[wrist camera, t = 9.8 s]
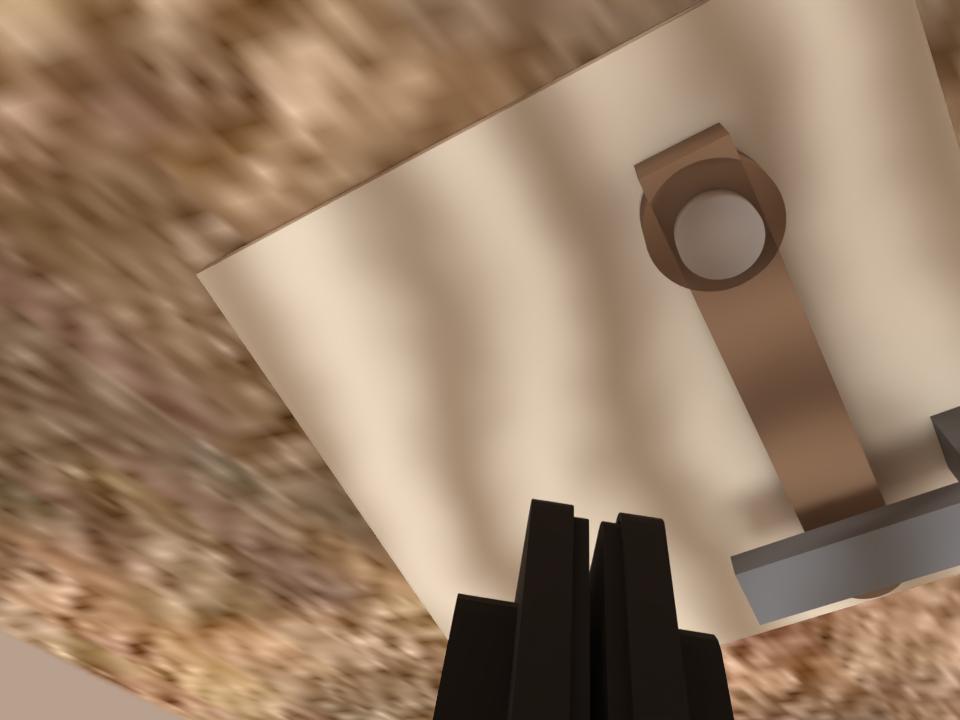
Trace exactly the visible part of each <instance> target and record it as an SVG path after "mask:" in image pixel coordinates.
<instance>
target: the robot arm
mask: <svg viewBox="0 0 960 720" xmlns="http://www.w3.org/2000/svg"><path fill="white" fill-rule="evenodd" d="M433 720H734V717H733V711H732V706H731V700H730V695H729V690H728V684H727V679H726V674H725V668H724V663H723V657H722V652H721V648H720V645H719V641H718V639H717V638H716V636H715V635H714V634H708V633H702V632H696V631H689V630H683V629H678V621H677V614H676V606H675V598H674V591H673V583H672V575H671V568H670V560H669V552H668V545H667V537H666V529H665V524H664V520H663V519H661V518H655V517H648V516H642V515H635V514H629V513H622V512H620V513H619V514H618V516H617V519H616V523H612V522H605V521H602V522H601V523H600V527H599V531H598V535H597V540H596V544H595V549H594V554H593V558H592V563H591V567H590V572H589V519H586V518H580V517H574V506H573V505H570V504H564V503H557V502H551V501H544V500H538V499H532V500H531V504H530V510H529V516H528V522H527V528H526V534H525V540H524V546H523V553H522V559H521V565H520V571H519V577H518V583H517V589H516V595H515V601H514V602H509V601H503V600H497V599H491V598H485V597H478V596H472V595H466V594H460V593H458V595H457V599H456V604H455V609H454V614H453V619H452V624H451V629H450V634H449V640H448V645H447V650H446V655H445V660H444V665H443V670H442V675H441V681H440V686H439V691H438V696H437V701H436V706H435V711H434V716H433Z"/></svg>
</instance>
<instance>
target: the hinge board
mask: <svg viewBox="0 0 960 720" xmlns="http://www.w3.org/2000/svg"><path fill="white" fill-rule="evenodd" d="M717 123H720V124H721V125H722V126H723V127H724V128H725V129H726V130H727V131H728V132H729V134H730V136H731V138H732V140H733V143H734V145H735V147H736V149H737V150H739V151H741V152H743V153H745V154H747V155H748V156H749V157H751V158H752V159H753V160H754V161H755V162H756V163H757V164H758V165H759V166H760V167H761V168H762V169H763V170H764V171H765V172H766V173H767V175H768V176H769V177H770V178H771V179H772V180H773V181H774V183H775V184H776V186H777V187H778V189H779V191H780V193H781V195H782V197H783V200H784V204H785V209H786V228H785V233H784V237H783V240H782V243H781V245H780V248H779V252H780V254H781V257H782V259H783V261H784V264H785V266H786V268H787V271H788V273H789V276H790V278H791V280H792V283H793V285H794V287H795V290H796V292H797V295H798V297H799V299H800V302H801V304H802V306H803V309H804V311H805V314H806V316H807V318H808V321H809V323H810V325H811V328H812V330H813V333H814V335H815V337H816V340H817V342H818V344H819V347H820V349H821V352H822V354H823V356H824V359H825V361H826V363H827V366H828V368H829V371H830V373H831V375H832V378H833V380H834V382H835V385H836V387H837V389H838V392H839V394H840V397H841V399H842V401H843V404H844V406H845V408H846V411H847V413H848V416H849V418H850V420H851V423H852V425H853V427H854V430H855V432H856V435H857V437H858V439H859V442H860V444H861V446H862V449H863V451H864V454H865V456H866V458H867V461H868V463H869V465H870V468H871V470H872V473H873V475H874V477H875V480H876V482H877V484H878V487H879V489H880V492H881V494H882V496H883V499H884V501H885V503H886V506H883V507H880V508H877V509H874V510H871V511H868V512H865V513H862V514H859V515H856V516H853V517H850V518H847V519H844V520H840V521H837V522H834V523H831V524H828V525H825V526H822V527H819V528H816V529H813V530H810V531H807V532H804V530H803V527H802V525H801V523H800V521H799V519H798V517H797V515H796V513H795V511H794V508H793V506H792V504H791V502H790V500H789V498H788V496H787V494H786V492H785V489H784V487H783V485H782V483H781V481H780V479H779V477H778V475H777V472H776V470H775V468H774V466H773V464H772V462H771V460H770V458H769V456H768V453H767V451H766V449H765V447H764V445H763V443H762V441H761V439H760V437H759V434H758V432H757V430H756V428H755V426H754V424H753V422H752V420H751V417H750V415H749V413H748V411H747V409H746V407H745V405H744V403H743V401H742V398H741V396H740V394H739V392H738V390H737V388H736V386H735V384H734V382H733V379H732V377H731V375H730V373H729V371H728V369H727V367H726V365H725V362H724V360H723V358H722V356H721V354H720V352H719V350H718V348H717V346H716V343H715V341H714V339H713V337H712V335H711V333H710V331H709V329H708V327H707V324H706V322H705V320H704V318H703V316H702V314H701V312H700V310H699V307H698V305H697V303H696V301H695V299H694V297H693V295H692V293H691V291H690V289H687V288H685V287H682V286H679V285H678V284H676V283H674V282H672V281H671V280H669V279H668V278H667V277H665V276H664V275H663V274H662V273H661V272H660V271H659V270H658V268H657V267H656V266H655V265H654V263H653V261H652V259H651V258H650V256H649V253H648V251H647V247H646V243H645V240H644V236H643V232H642V228H641V223H640V204H641V199H642V196H643V192H644V191H643V189H642V187H641V185H640V183H639V181H638V178H637V174H636V171H635V168H634V165H636V164H638V163H640V162H642V161H644V160H645V159H647V158H649V157H651V156H653V155H655V154H657V153H659V152H661V151H663V150H665V149H667V148H669V147H671V146H673V145H675V144H677V143H679V142H681V141H683V140H685V139H687V138H689V137H691V136H693V135H695V134H697V133H699V132H701V131H703V130H705V129H707V128H709V127H711V126H713V125H715V124H717ZM674 240H675V244H676V246H677V249H678V252H679V255H680V257H681V259H682V261H683V263H684V264H685V265H686V267H687V268H688V269H689V270H691V271H692V272H693V273H695V274H697V275H698V276H701V277H703V278H707V279H714V280H721V279H727V278H731V277H734V276H737V275H739V274H741V273H742V272H744V271H746V270H747V269H748V268H749V267H751V266H752V265H753V263H754V262H755V261H756V260H757V258H758V257H759V255H760V253H761V251H762V249H763V246H764V242H765V228H764V224H763V221H762V219H761V217H760V215H759V213H758V212H757V211H756V209H755V208H754V207H753V205H752V204H751V203H750V202H749V200H748V199H746V198H745V197H744V196H743V195H741V194H739V193H737V192H735V191H731V190H727V189H713V190H708V191H705V192H702V193H700V194H698V195H696V196H695V197H693V198H692V199H690V200H689V201H688V202H687V203H686V204H685V205H684V206H683V207H682V209H681V210H680V212H679V214H678V216H677V218H676V221H675V225H674ZM196 275H197V276H198V278H199V279H200V281H201V282H202V284H203V285H204V287H205V288H206V289H207V291H208V292H209V294H210V295H211V297H212V298H213V300H214V301H215V303H216V304H217V305H218V307H219V308H220V310H221V311H222V313H223V314H224V316H225V317H226V319H227V320H228V321H229V323H230V324H231V326H232V327H233V329H234V330H235V332H236V333H237V335H238V336H239V337H240V339H241V340H242V342H243V343H244V345H245V346H246V348H247V349H248V350H249V352H250V353H251V355H252V356H253V358H254V359H255V361H256V362H257V364H258V365H259V366H260V368H261V369H262V371H263V372H264V374H265V375H266V377H267V378H268V380H269V381H270V382H271V384H272V385H273V387H274V388H275V390H276V391H277V393H278V394H279V395H280V397H281V398H282V400H283V401H284V403H285V404H286V406H287V407H288V409H289V410H290V411H291V413H292V414H293V416H294V417H295V419H296V420H297V422H298V423H299V425H300V426H301V427H302V429H303V430H304V432H305V433H306V435H307V436H308V438H309V439H310V441H311V442H312V443H313V445H314V446H315V448H316V449H317V451H318V452H319V454H320V455H321V456H322V458H323V459H324V461H325V462H326V464H327V465H328V467H329V468H330V470H331V471H332V472H333V474H334V475H335V477H336V478H337V480H338V481H339V483H340V484H341V486H342V487H343V488H344V490H345V491H346V493H347V494H348V496H349V497H350V499H351V500H352V501H353V503H354V504H355V506H356V507H357V509H358V510H359V512H360V513H361V515H362V516H363V517H364V519H365V520H366V522H367V523H368V525H369V526H370V528H371V529H372V531H373V532H374V533H375V535H376V536H377V538H378V539H379V541H380V542H381V544H382V545H383V546H384V548H385V549H386V551H387V552H388V554H389V555H390V557H391V558H392V560H393V561H394V562H395V564H396V565H397V567H398V568H399V570H400V571H401V573H402V574H403V576H404V577H405V578H406V580H407V581H408V583H409V584H410V586H411V587H412V589H413V590H414V592H415V593H416V594H417V596H418V597H419V599H420V600H421V602H422V603H423V605H424V606H425V607H426V609H427V610H428V612H429V613H430V615H431V616H432V618H433V619H434V621H435V622H436V623H437V625H438V626H439V628H440V629H441V631H442V632H443V634H444V635H445V637H446V638H447V639H448V640H449V634H450V629H451V624H452V619H453V614H454V609H455V604H456V599H457V595H458V593H460V594H466V595H472V596H478V597H485V598H491V599H497V600H503V601H509V602H514V601H515V595H516V589H517V583H518V577H519V571H520V565H521V559H522V553H523V546H524V540H525V534H526V528H527V522H528V516H529V510H530V504H531V500H532V499H538V500H544V501H551V502H557V503H564V504H570V505H573V506H574V517H580V518H586V519H589V572H590V567H591V563H592V558H593V554H594V549H595V544H596V540H597V535H598V531H599V527H600V523H601V522H602V521H605V522H612V523H616V519H617V516H618V514H619V513H620V512H622V513H629V514H635V515H642V516H648V517H655V518H661V519H663V520H664V524H665V529H666V537H667V545H668V552H669V560H670V568H671V575H672V583H673V591H674V598H675V606H676V614H677V621H678V629H683V630H689V631H696V632H702V633H708V634H714V635H715V636H716V638H717V639H718V641H719V645H722V644H725V643H729V642H732V641H735V640H739V639H742V638H746V637H749V636H752V635H756V634H759V633H762V632H766V631H769V630H772V629H776V628H779V627H783V626H786V625H789V624H793V623H796V622H799V621H803V620H806V619H809V618H813V617H816V616H820V615H823V614H826V613H830V612H833V611H836V610H840V609H843V608H847V607H850V606H853V605H857V604H860V603H863V602H867V601H870V600H873V599H877V598H880V597H884V596H887V595H890V594H894V593H897V592H900V591H904V590H907V589H910V588H914V587H917V586H921V585H924V584H927V583H931V582H934V581H937V580H941V579H944V578H947V577H951V576H954V575H958V574H960V148H959V145H958V142H957V138H956V135H955V132H954V128H953V125H952V121H951V118H950V115H949V111H948V108H947V105H946V101H945V98H944V95H943V91H942V88H941V85H940V81H939V78H938V75H937V71H936V68H935V65H934V61H933V58H932V55H931V51H930V48H929V45H928V41H927V38H926V35H925V31H924V28H923V25H922V21H921V18H920V15H919V11H918V8H917V5H916V1H915V0H704V1H702V2H700V3H698V4H696V5H694V6H692V7H691V8H689V9H687V10H685V11H683V12H681V13H679V14H677V15H676V16H674V17H672V18H670V19H668V20H666V21H664V22H662V23H661V24H659V25H657V26H655V27H653V28H651V29H649V30H647V31H646V32H644V33H642V34H640V35H638V36H636V37H634V38H633V39H631V40H629V41H627V42H625V43H623V44H621V45H619V46H618V47H616V48H614V49H612V50H610V51H608V52H606V53H604V54H603V55H601V56H599V57H597V58H595V59H593V60H591V61H589V62H588V63H586V64H584V65H582V66H580V67H578V68H576V69H574V70H573V71H571V72H569V73H567V74H565V75H563V76H561V77H559V78H558V79H556V80H554V81H552V82H550V83H548V84H546V85H544V86H543V87H541V88H539V89H537V90H535V91H533V92H531V93H530V94H528V95H526V96H524V97H522V98H520V99H518V100H516V101H515V102H513V103H511V104H509V105H507V106H505V107H503V108H501V109H500V110H498V111H496V112H494V113H492V114H490V115H488V116H486V117H485V118H483V119H481V120H479V121H477V122H475V123H473V124H471V125H470V126H468V127H466V128H464V129H462V130H460V131H458V132H456V133H455V134H453V135H451V136H449V137H447V138H445V139H443V140H441V141H440V142H438V143H436V144H434V145H432V146H430V147H428V148H427V149H425V150H423V151H421V152H419V153H417V154H415V155H413V156H412V157H410V158H408V159H406V160H404V161H402V162H400V163H398V164H397V165H395V166H393V167H391V168H389V169H387V170H385V171H383V172H382V173H380V174H378V175H376V176H374V177H372V178H370V179H368V180H367V181H365V182H363V183H361V184H359V185H357V186H355V187H353V188H352V189H350V190H348V191H346V192H344V193H342V194H340V195H338V196H337V197H335V198H333V199H331V200H329V201H327V202H325V203H324V204H322V205H320V206H318V207H316V208H314V209H312V210H310V211H309V212H307V213H305V214H303V215H301V216H299V217H297V218H295V219H294V220H292V221H290V222H288V223H286V224H284V225H282V226H280V227H279V228H277V229H275V230H273V231H271V232H269V233H267V234H265V235H264V236H262V237H260V238H258V239H256V240H254V241H252V242H250V243H249V244H247V245H245V246H243V247H241V248H239V249H237V250H235V251H234V252H232V253H230V254H228V255H226V256H224V257H222V258H221V259H219V260H217V261H215V262H213V263H211V264H209V265H207V266H206V267H205V268H203V269H202V270H201V271H200V272H199V273H197V274H196ZM899 583H901V584H900V585H899V586H898V587H897V588H895V589H894V590H893V591H891V592H889V593H887V594H885V595H882V596H880V597H876V598H870V599H856V598H853V597H856V596H859V595H863V594H866V593H869V592H873V591H876V590H879V589H883V588H886V587H889V586H893V585H896V584H899Z"/></svg>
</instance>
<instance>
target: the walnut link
mask: <svg viewBox="0 0 960 720" xmlns="http://www.w3.org/2000/svg"><path fill="white" fill-rule="evenodd" d="M634 168H635V171H636V174H637V178H638V181H639V183H640V185H641V187H642V189H643V191H644V192H643V196H642V199H641V204H640V223H641V228H642V232H643V236H644V240H645V243H646V247H647V251H648V253H649V256H650V258H651V259H652V261H653V263H654V265H655V266H656V267H657V268H658V270H659V271H660V272H661V273H662V274H663V275H664V276H665V277H667V278H668V279H669V280H671V281H672V282H674V283H676V284H678V285H679V286H682V287H685V288H687V289H690V291H691V293H692V295H693V297H694V299H695V301H696V303H697V305H698V307H699V310H700V312H701V314H702V316H703V318H704V320H705V322H706V324H707V327H708V329H709V331H710V333H711V335H712V337H713V339H714V341H715V343H716V346H717V348H718V350H719V352H720V354H721V356H722V358H723V360H724V362H725V365H726V367H727V369H728V371H729V373H730V375H731V377H732V379H733V382H734V384H735V386H736V388H737V390H738V392H739V394H740V396H741V398H742V401H743V403H744V405H745V407H746V409H747V411H748V413H749V415H750V417H751V420H752V422H753V424H754V426H755V428H756V430H757V432H758V434H759V437H760V439H761V441H762V443H763V445H764V447H765V449H766V451H767V453H768V456H769V458H770V460H771V462H772V464H773V466H774V468H775V470H776V472H777V475H778V477H779V479H780V481H781V483H782V485H783V487H784V489H785V492H786V494H787V496H788V498H789V500H790V502H791V504H792V506H793V508H794V511H795V513H796V515H797V517H798V519H799V521H800V523H801V525H802V527H803V530H804V532H807V531H810V530H813V529H816V528H819V527H822V526H825V525H828V524H831V523H834V522H837V521H840V520H844V519H847V518H850V517H853V516H856V515H859V514H862V513H865V512H868V511H871V510H874V509H877V508H880V507H883V506H886V503H885V501H884V499H883V496H882V494H881V492H880V489H879V487H878V484H877V482H876V480H875V477H874V475H873V473H872V470H871V468H870V465H869V463H868V461H867V458H866V456H865V454H864V451H863V449H862V446H861V444H860V442H859V439H858V437H857V435H856V432H855V430H854V427H853V425H852V423H851V420H850V418H849V416H848V413H847V411H846V408H845V406H844V404H843V401H842V399H841V397H840V394H839V392H838V389H837V387H836V385H835V382H834V380H833V378H832V375H831V373H830V371H829V368H828V366H827V363H826V361H825V359H824V356H823V354H822V352H821V349H820V347H819V344H818V342H817V340H816V337H815V335H814V333H813V330H812V328H811V325H810V323H809V321H808V318H807V316H806V314H805V311H804V309H803V306H802V304H801V302H800V299H799V297H798V295H797V292H796V290H795V287H794V285H793V283H792V280H791V278H790V276H789V273H788V271H787V268H786V266H785V264H784V261H783V259H782V257H781V254H780V252H779V248H780V245H781V243H782V240H783V237H784V233H785V228H786V209H785V204H784V200H783V197H782V195H781V193H780V191H779V189H778V187H777V186H776V184H775V183H774V181H773V180H772V179H771V178H770V177H769V176H768V175H767V173H766V172H765V171H764V170H763V169H762V168H761V167H760V166H759V165H758V164H757V163H756V162H755V161H754V160H753V159H752V158H751V157H749V156H748V155H747V154H745V153H743V152H741V151H739V150H737V149H736V147H735V145H734V143H733V140H732V138H731V136H730V134H729V132H728V131H727V130H726V129H725V128H724V127H723V126H722V125H721V124H720V123H717V124H715V125H713V126H711V127H709V128H707V129H705V130H703V131H701V132H699V133H697V134H695V135H693V136H691V137H689V138H687V139H685V140H683V141H681V142H679V143H677V144H675V145H673V146H671V147H669V148H667V149H665V150H663V151H661V152H659V153H657V154H655V155H653V156H651V157H649V158H647V159H645V160H644V161H642V162H640V163H638V164H636V165H634ZM713 189H727V190H731V191H735V192H737V193H739V194H741V195H743V196H744V197H745V198H746V199H748V200H749V202H750V203H751V204H752V205H753V207H754V208H755V209H756V211H757V212H758V213H759V215H760V217H761V219H762V221H763V224H764V228H765V242H764V246H763V249H762V251H761V253H760V255H759V257H758V258H757V260H756V261H755V262H754V263H753V265H752V266H751V267H749V268H748V269H747V270H746V271H744V272H742V273H741V274H739V275H737V276H734V277H731V278H727V279H721V280H714V279H707V278H703V277H701V276H698V275H697V274H695V273H693V272H692V271H691V270H689V269H688V268H687V267H686V265H685V264H684V263H683V261H682V259H681V257H680V255H679V252H678V249H677V246H676V244H675V240H674V225H675V221H676V218H677V216H678V214H679V212H680V210H681V209H682V207H683V206H684V205H685V204H686V203H687V202H688V201H689V200H690V199H692V198H693V197H695V196H696V195H698V194H700V193H702V192H705V191H708V190H713ZM900 584H901V583H899V584H896V585H893V586H889V587H886V588H883V589H879V590H876V591H873V592H869V593H866V594H863V595H859V596H856V597H853V598H856V599H870V598H876V597H880V596H882V595H885V594H887V593H889V592H891V591H893V590H894V589H895V588H897V587H898V586H899V585H900Z"/></svg>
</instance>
